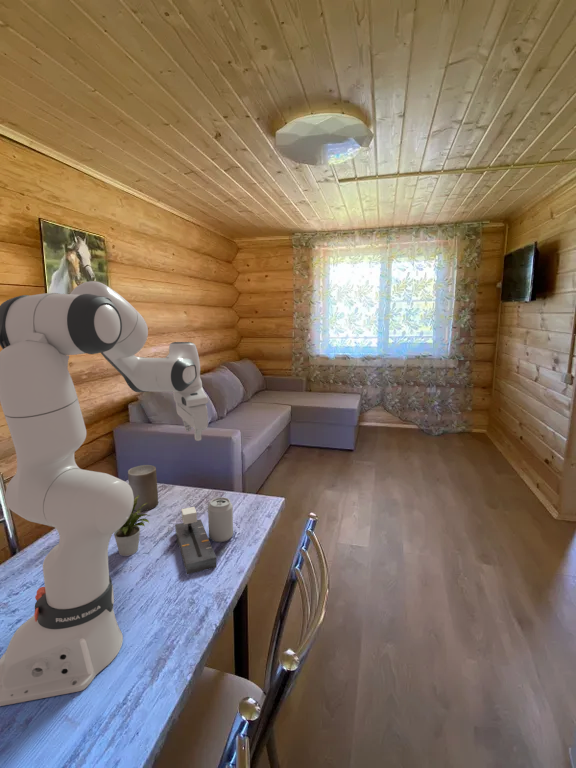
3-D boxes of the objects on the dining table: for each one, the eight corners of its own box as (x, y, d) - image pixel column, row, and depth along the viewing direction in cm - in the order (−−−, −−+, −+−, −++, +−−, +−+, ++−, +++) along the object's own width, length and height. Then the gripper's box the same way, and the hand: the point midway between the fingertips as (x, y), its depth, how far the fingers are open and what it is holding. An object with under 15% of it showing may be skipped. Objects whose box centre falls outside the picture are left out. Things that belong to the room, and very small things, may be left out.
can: (235, 531, 123) (234, 496, 121) (229, 544, 116) (229, 507, 114) (212, 529, 124) (211, 495, 122) (205, 543, 116) (204, 506, 114)
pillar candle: (161, 498, 145) (159, 461, 143) (154, 511, 136) (151, 471, 133) (135, 499, 145) (132, 461, 142) (126, 512, 135) (123, 472, 133)
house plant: (105, 575, 101) (100, 518, 99) (92, 551, 112) (87, 499, 109) (157, 554, 110) (154, 502, 108) (141, 534, 121) (138, 485, 118)
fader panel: (186, 574, 102) (186, 564, 101) (175, 533, 122) (175, 524, 121) (216, 567, 105) (216, 556, 104) (200, 527, 125) (200, 519, 124)
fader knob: (184, 530, 117) (183, 514, 117) (182, 523, 121) (181, 509, 120) (197, 527, 119) (196, 512, 118) (194, 521, 123) (194, 506, 122)
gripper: (168, 388, 124) (173, 427, 128) (188, 403, 108) (193, 448, 111) (187, 384, 128) (192, 423, 131) (209, 399, 111) (214, 443, 114)
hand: (193, 435), depth 121 cm, fingers open, 8 cm apart
